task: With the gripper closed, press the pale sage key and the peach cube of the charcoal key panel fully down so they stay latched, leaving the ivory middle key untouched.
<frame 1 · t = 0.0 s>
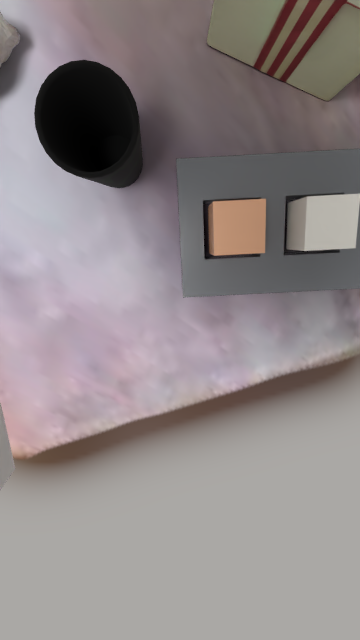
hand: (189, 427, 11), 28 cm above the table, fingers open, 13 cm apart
key panel: (298, 226, 36), on the table
ivory key: (319, 224, 31), point 6 cm above the table, slide at 0.0 cm
cup: (118, 161, 34), on the table
peach cube: (234, 228, 31), point 6 cm above the table, slide at 0.0 cm
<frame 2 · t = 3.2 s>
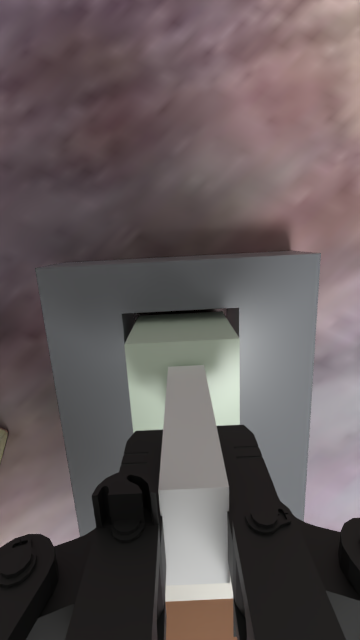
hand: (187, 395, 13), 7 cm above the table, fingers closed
key panel: (187, 451, 22), on the table
ivory key: (190, 517, 17), point 5 cm above the table, slide at 0.0 cm
sage key: (183, 370, 16), point 5 cm above the table, slide at 0.9 cm, touching gripper
peach cube: (196, 626, 19), point 5 cm above the table, slide at 0.0 cm
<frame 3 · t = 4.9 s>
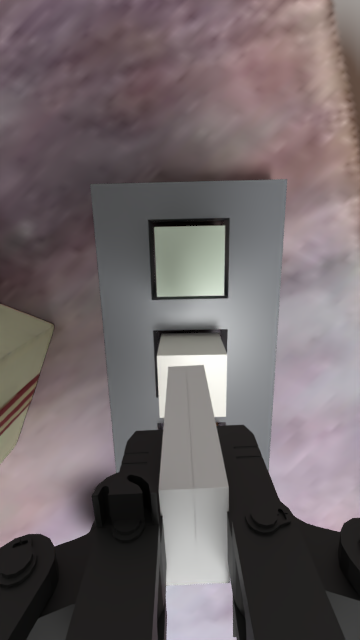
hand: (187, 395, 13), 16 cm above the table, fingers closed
key panel: (189, 347, 29), on the table
ivory key: (191, 372, 24), point 6 cm above the table, slide at 0.0 cm
sage key: (189, 259, 24), point 3 cm above the table, slide at 2.1 cm
peach cube: (192, 463, 26), point 6 cm above the table, slide at 0.0 cm
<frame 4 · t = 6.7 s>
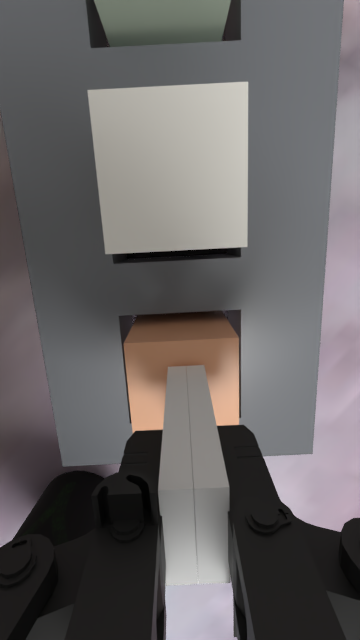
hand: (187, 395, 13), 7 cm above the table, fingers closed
key panel: (174, 202, 17), on the table
ivory key: (173, 186, 12), point 6 cm above the table, slide at 0.0 cm
cup: (82, 500, 23), on the table
peach cube: (182, 369, 16), point 4 cm above the table, slide at 1.5 cm, touching gripper
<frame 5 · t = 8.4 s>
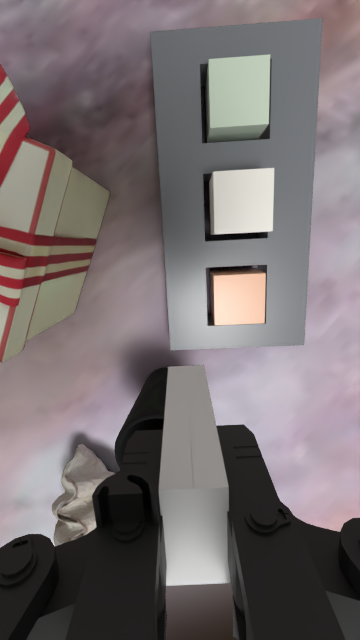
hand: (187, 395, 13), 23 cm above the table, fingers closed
key panel: (230, 210, 33), on the table
ivory key: (238, 205, 27), point 6 cm above the table, slide at 0.0 cm
cup: (167, 387, 38), on the table
sage key: (234, 105, 27), point 3 cm above the table, slide at 2.1 cm
peach cube: (235, 295, 31), point 3 cm above the table, slide at 2.1 cm
seashell: (105, 484, 43), on the table
gift box: (28, 217, 34), on the table
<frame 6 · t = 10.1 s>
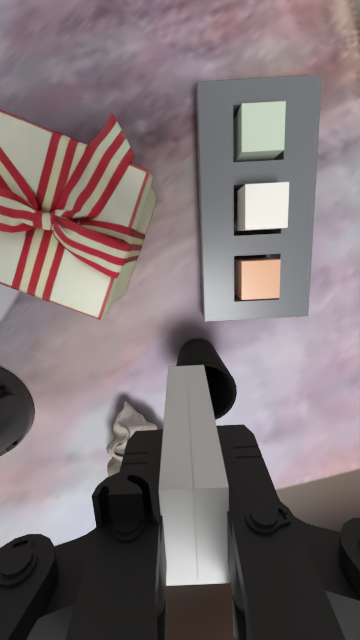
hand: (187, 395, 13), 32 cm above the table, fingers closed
key panel: (250, 212, 42), on the table
ivory key: (261, 208, 37), point 6 cm above the table, slide at 0.0 cm
cup: (197, 355, 47), on the table
sage key: (257, 134, 36), point 3 cm above the table, slide at 2.1 cm
peach cube: (255, 277, 41), point 3 cm above the table, slide at 2.1 cm
seashell: (142, 437, 51), on the table
gift box: (90, 217, 42), on the table
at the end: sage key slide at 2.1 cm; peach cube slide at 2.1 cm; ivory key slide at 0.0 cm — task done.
